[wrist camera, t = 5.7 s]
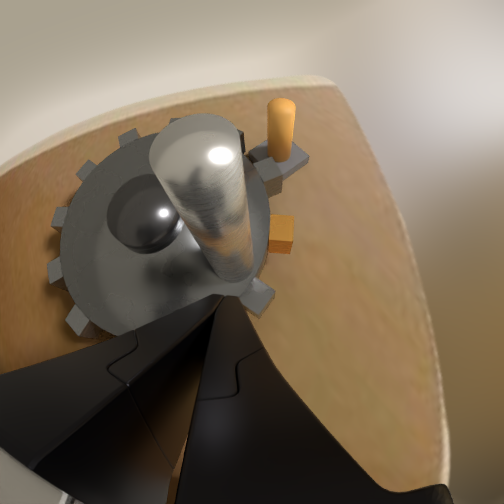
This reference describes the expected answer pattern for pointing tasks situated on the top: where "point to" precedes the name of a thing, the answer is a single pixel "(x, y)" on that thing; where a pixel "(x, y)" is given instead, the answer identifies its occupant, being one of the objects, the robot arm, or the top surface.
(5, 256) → the top surface
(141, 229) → the sprocket
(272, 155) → the rounded peg on base
